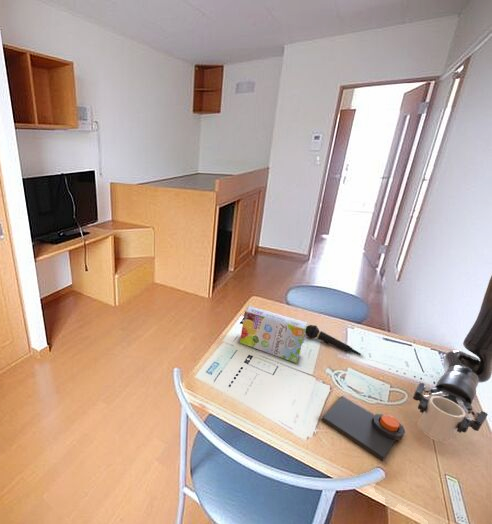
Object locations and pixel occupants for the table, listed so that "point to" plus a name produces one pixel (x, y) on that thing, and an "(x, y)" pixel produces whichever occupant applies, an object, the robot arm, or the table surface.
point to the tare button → (389, 423)
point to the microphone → (327, 338)
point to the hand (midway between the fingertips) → (440, 419)
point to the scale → (362, 427)
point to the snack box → (273, 333)
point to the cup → (441, 419)
